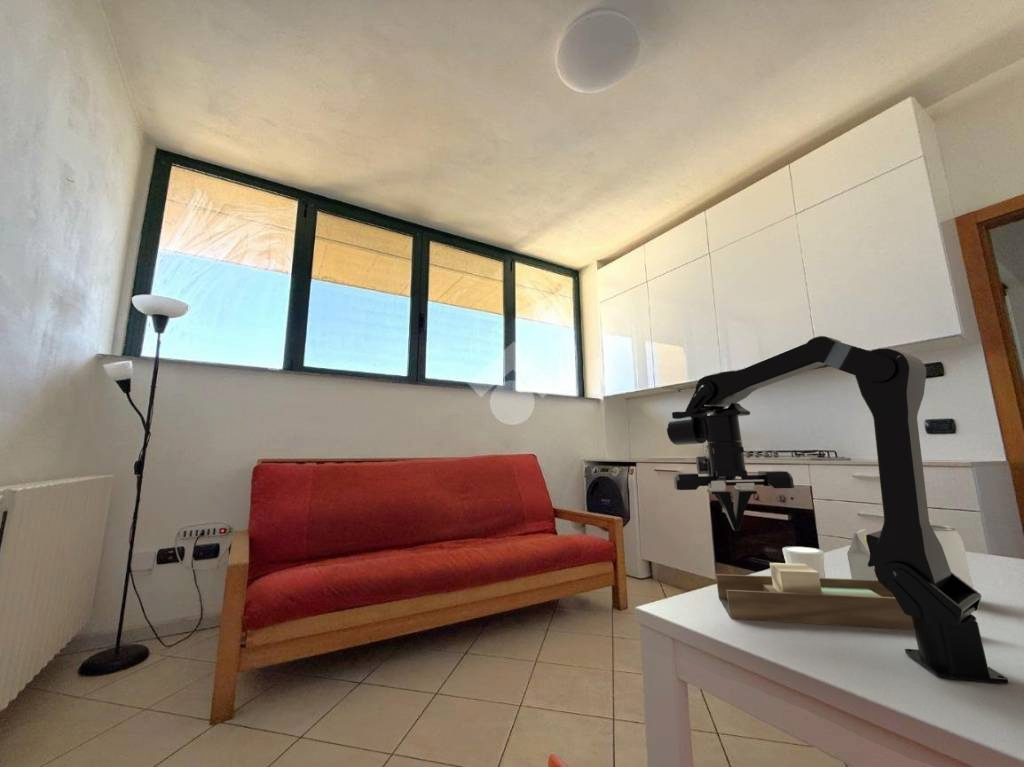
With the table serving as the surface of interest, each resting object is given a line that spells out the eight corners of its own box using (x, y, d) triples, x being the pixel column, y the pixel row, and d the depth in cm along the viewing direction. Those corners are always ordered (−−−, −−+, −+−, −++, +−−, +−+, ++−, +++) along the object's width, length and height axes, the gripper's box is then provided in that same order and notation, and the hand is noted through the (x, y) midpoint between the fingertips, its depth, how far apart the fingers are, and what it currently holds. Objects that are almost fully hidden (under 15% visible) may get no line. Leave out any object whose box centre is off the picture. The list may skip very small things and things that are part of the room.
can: (976, 608, 67) (958, 531, 69) (921, 599, 72) (906, 527, 74) (978, 598, 71) (961, 526, 73) (925, 590, 76) (911, 523, 78)
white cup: (815, 581, 83) (809, 545, 85) (838, 592, 77) (831, 552, 78) (780, 581, 84) (775, 546, 85) (800, 592, 77) (794, 553, 79)
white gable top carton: (852, 585, 80) (843, 532, 82) (863, 578, 84) (854, 527, 86) (877, 589, 78) (866, 534, 79) (886, 582, 81) (876, 529, 83)
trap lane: (965, 633, 58) (958, 601, 59) (730, 618, 66) (727, 590, 67) (919, 608, 68) (913, 581, 68) (718, 598, 76) (715, 574, 77)
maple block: (822, 598, 65) (818, 572, 66) (783, 597, 67) (779, 571, 68) (808, 588, 70) (804, 563, 71) (773, 586, 72) (769, 562, 73)
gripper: (767, 441, 81) (780, 523, 78) (667, 445, 86) (676, 522, 83) (787, 438, 70) (803, 533, 67) (672, 444, 75) (682, 532, 72)
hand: (736, 530), depth 73 cm, fingers closed
